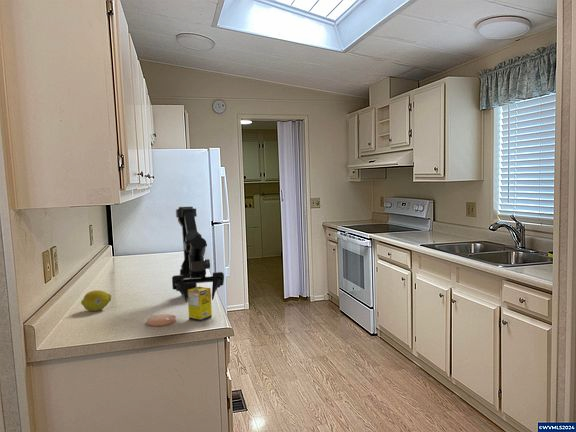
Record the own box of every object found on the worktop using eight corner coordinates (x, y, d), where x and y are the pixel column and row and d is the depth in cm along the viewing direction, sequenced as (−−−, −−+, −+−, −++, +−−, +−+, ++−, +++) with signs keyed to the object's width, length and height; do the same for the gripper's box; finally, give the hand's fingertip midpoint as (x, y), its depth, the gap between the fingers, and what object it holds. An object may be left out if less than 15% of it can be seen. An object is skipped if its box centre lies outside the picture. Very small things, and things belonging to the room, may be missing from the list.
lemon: (80, 315, 161) (79, 294, 160) (82, 309, 168) (81, 289, 167) (111, 311, 164) (110, 291, 164) (112, 306, 172) (111, 286, 171)
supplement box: (212, 317, 154) (211, 287, 154) (200, 321, 149) (199, 291, 148) (199, 314, 157) (198, 286, 157) (188, 319, 152) (187, 289, 152)
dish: (144, 320, 152) (143, 317, 152) (171, 315, 157) (171, 312, 157) (150, 328, 143) (150, 325, 143) (179, 323, 148) (179, 319, 148)
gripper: (171, 253, 153) (172, 290, 143) (222, 250, 158) (227, 286, 148) (171, 271, 161) (173, 307, 152) (220, 267, 166) (225, 302, 156)
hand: (199, 300), depth 152 cm, fingers open, 9 cm apart
